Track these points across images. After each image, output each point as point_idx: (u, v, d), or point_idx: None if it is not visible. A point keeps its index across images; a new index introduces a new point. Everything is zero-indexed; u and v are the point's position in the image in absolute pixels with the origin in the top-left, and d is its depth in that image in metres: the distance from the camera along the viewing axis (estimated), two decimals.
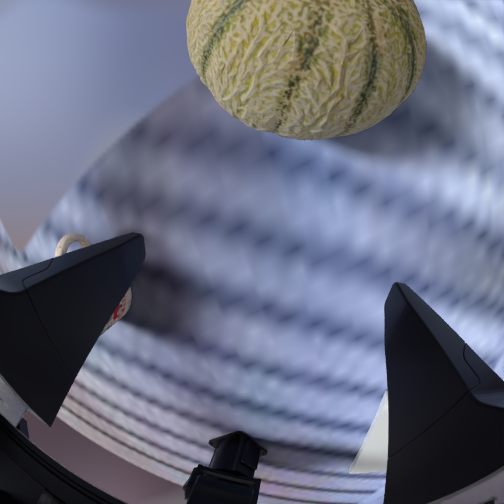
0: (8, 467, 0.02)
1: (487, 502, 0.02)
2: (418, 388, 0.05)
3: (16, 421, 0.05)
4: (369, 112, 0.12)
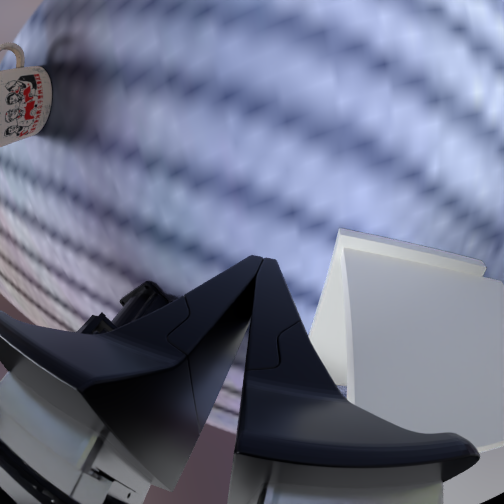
0: None
1: None
2: None
3: (141, 502, 0.04)
4: None
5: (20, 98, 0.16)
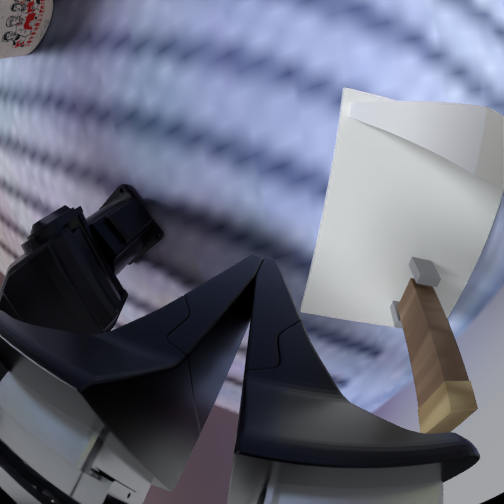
0: None
1: None
2: None
3: (141, 502, 0.04)
4: None
5: (24, 8, 0.11)
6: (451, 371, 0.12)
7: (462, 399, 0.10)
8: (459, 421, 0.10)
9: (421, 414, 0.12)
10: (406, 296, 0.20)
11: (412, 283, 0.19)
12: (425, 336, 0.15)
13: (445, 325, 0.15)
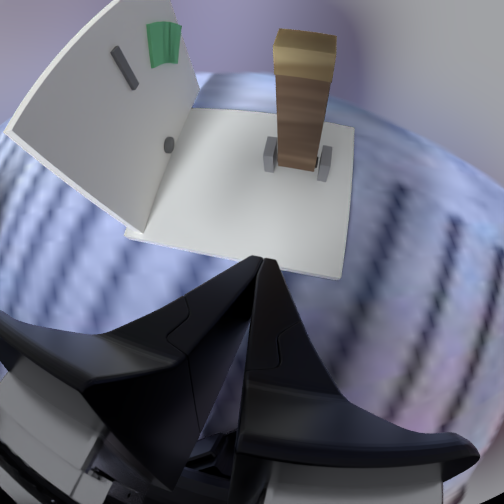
0: None
1: None
2: None
3: (141, 502, 0.04)
4: None
5: None
6: None
7: None
8: (304, 33, 0.11)
9: (327, 73, 0.12)
10: (294, 163, 0.22)
11: (278, 161, 0.22)
12: (287, 122, 0.17)
13: None
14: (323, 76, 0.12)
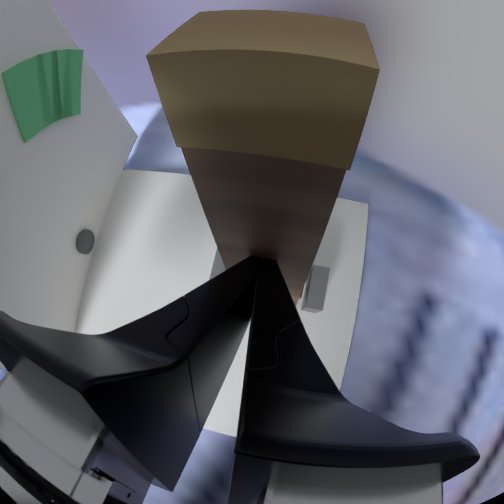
0: None
1: None
2: None
3: None
4: None
5: None
6: None
7: None
8: (266, 14, 0.04)
9: (340, 140, 0.04)
10: None
11: None
12: (237, 247, 0.09)
13: None
14: (325, 150, 0.04)
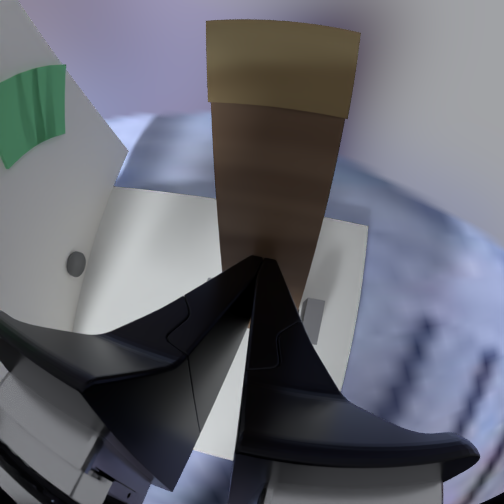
0: None
1: None
2: None
3: (141, 502, 0.04)
4: None
5: None
6: None
7: None
8: None
9: (338, 91, 0.05)
10: None
11: None
12: (240, 237, 0.09)
13: None
14: (327, 100, 0.05)
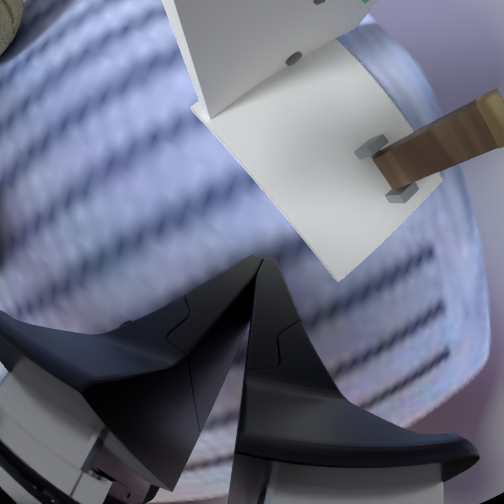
0: None
1: None
2: None
3: (141, 502, 0.04)
4: None
5: None
6: (468, 107, 0.12)
7: (490, 94, 0.10)
8: None
9: (503, 141, 0.11)
10: (388, 170, 0.19)
11: (379, 156, 0.19)
12: (435, 138, 0.15)
13: (427, 126, 0.16)
14: (499, 140, 0.11)
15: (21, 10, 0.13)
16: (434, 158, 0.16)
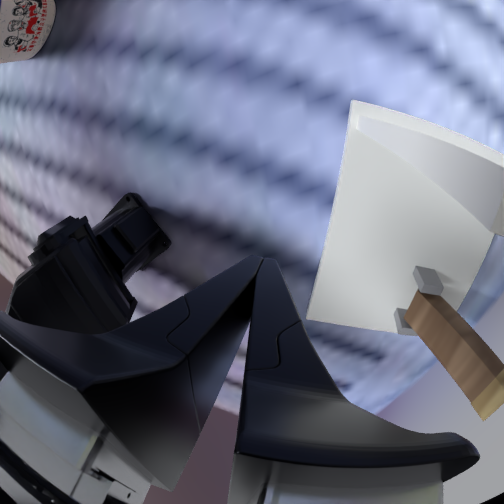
0: None
1: None
2: None
3: (141, 502, 0.04)
4: None
5: (25, 12, 0.11)
6: (493, 366, 0.12)
7: None
8: None
9: (476, 406, 0.12)
10: (416, 308, 0.20)
11: (422, 295, 0.19)
12: (458, 345, 0.15)
13: (467, 327, 0.16)
14: (476, 402, 0.12)
15: None
16: (442, 348, 0.16)
